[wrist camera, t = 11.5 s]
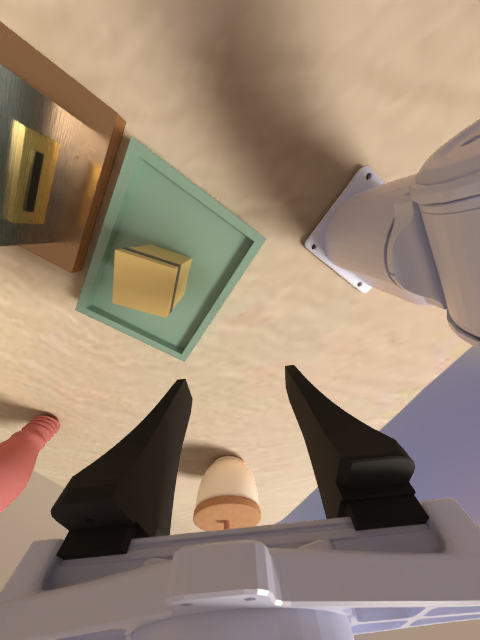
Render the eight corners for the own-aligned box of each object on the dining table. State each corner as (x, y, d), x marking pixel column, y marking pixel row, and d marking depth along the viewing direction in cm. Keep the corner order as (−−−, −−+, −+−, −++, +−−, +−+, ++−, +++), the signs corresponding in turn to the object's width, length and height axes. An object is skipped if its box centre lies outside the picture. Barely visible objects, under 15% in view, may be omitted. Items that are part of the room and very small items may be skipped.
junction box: (126, 121, 15) (53, 48, 9) (80, 270, 20) (13, 287, 14) (10, 31, 13) (-187, -145, 7) (-9, 223, 17) (-135, 218, 12)
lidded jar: (224, 440, 33) (221, 513, 24) (267, 462, 36) (277, 532, 28) (189, 467, 36) (176, 539, 28) (231, 484, 39) (231, 553, 31)
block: (192, 257, 18) (175, 268, 13) (184, 295, 20) (166, 318, 15) (150, 243, 18) (114, 248, 12) (145, 283, 19) (111, 303, 14)
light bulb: (45, 395, 27) (-82, 505, 16) (85, 422, 30) (0, 532, 19) (14, 413, 28) (-121, 526, 17) (55, 438, 31) (-40, 548, 20)
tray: (263, 238, 19) (266, 239, 17) (188, 352, 24) (184, 361, 23) (143, 147, 15) (131, 136, 14) (88, 303, 21) (75, 309, 19)
